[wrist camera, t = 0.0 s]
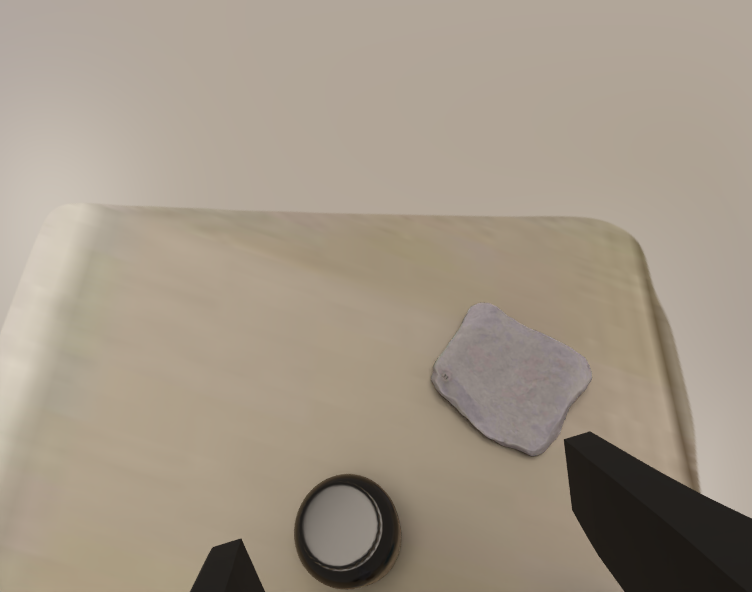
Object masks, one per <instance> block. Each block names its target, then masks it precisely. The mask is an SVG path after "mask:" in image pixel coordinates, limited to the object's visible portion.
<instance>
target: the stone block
mask: <svg viewBox="0 0 752 592" xmlns="http://www.w3.org/2000/svg"><path fill="white" fill-rule="evenodd" d="M431 379H432V382H433V384H434V386H435V388H436V389H437V391H438V392H439V393H440V394H441V395H442V396H443V397H444V398H446V399H447V400H448V401H449V402H450V403H451V404H452V405H453V406H455V407H456V408H457V409H458V411H459V412H460V413H461V414H462V415H463V416H465V417H466V418H467V419H468V420H469V421H470V422H471V423H472V424H473V426H474V427H476V428H477V429H478V430H479V431H480V432H482V433H483V434H484V435H485V436H486V437H488V438H489V439H492V440H494V441H495V442H497V443H499V444H500V445H502V446H506V447H510V448H514V449H517V450H519V451H522V452H524V453H526V454H528V455H530V456H537V455H540V454H542V453H543V452H544V451H545V450H546V449H547V448H548V447H549V446H550V444H551V443H552V442H553V441H554V440H556V438H557V436H558V435H559V434H560V431H561V428H562V425H563V422H564V420H565V419H566V415H567V412H568V410H569V407H570V406H571V405H572V404H573V403H574V401H575V400H576V399H577V397H579V396H580V395H581V393H582V392H583V391H585V390H586V388H587V386H588V384H589V383H590V382H591V380H592V371H591V370H590V366H589V364H588V362H587V360H586V358H585V357H583V356H582V355H581V354H579V353H577V352H576V351H575V350H574V349H572V348H571V347H569V346H567V345H565V344H564V343H561V342H559V341H557V340H556V339H554V338H552V337H550V336H548V335H545V334H543V333H541V332H538V331H536V330H533V329H531V328H528V327H526V326H524V325H522V324H520V323H519V322H517V321H516V320H515V319H513V318H511V317H509V316H507V315H506V314H505V313H504V312H503V311H502V310H500V309H499V308H498V307H496V306H495V305H492V304H490V303H478V304H475V305H473V306H471V307H470V308H469V310H468V313H467V314H466V316H465V318H464V320H463V322H462V325H461V327H460V328H459V330H458V331H457V333H456V334H455V335H454V337H453V338H452V340H451V341H450V342H449V344H448V345H447V347H446V348H445V350H444V351H443V352H442V354H441V355H440V356H439V357H438V359H437V360H436V362H435V364H434V366H433V374H432V376H431Z"/></svg>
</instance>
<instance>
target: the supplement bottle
mask: <svg viewBox="0 0 752 592" xmlns="http://www.w3.org/2000/svg"><path fill="white" fill-rule="evenodd" d="M294 539H295V546H296V550H297V553H298V556H299V558H300V560H301V562H302V564H303V566H304V567H305V569H306V570H307V571H308V572H309V573H310V574H311V575H312V576H313V577H314V578H315V579H316V580H318V581H319V582H321V583H323V584H325V585H327V586H330V587H333V588H337V589H354V588H359V587H364V586H367V585H370V584H373V583H375V582H377V581H378V580H380V579H381V578H383V577H384V576H385V575H386V574H387V573H388V572H389V571H390V569H391V568H392V567H393V565H394V564H395V562H396V560H397V557H398V555H399V551H400V547H401V527H400V523H399V519H398V515H397V512H396V509H395V506H394V504H393V502H392V500H391V499H390V497H389V496H388V494H387V493H386V492H385V491H384V490H383V489H382V488H381V487H380V486H379V485H378V484H376V483H375V482H374V481H372V480H370V479H368V478H366V477H363V476H360V475H354V474H342V475H336V476H333V477H330V478H328V479H326V480H324V481H322V482H321V483H319V484H318V485H317V486H315V487H314V488H313V489H312V490H311V491H310V492H309V493H308V495H307V496H306V497H305V499H304V500H303V502H302V504H301V506H300V508H299V511H298V513H297V517H296V521H295V528H294Z"/></svg>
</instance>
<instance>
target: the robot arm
mask: <svg viewBox="0 0 752 592" xmlns="http://www.w3.org/2000/svg"><path fill="white" fill-rule="evenodd" d="M564 445H565V453H566V462H567V470H568V479H569V487H570V495H571V504H572V511H573V512H574V514H575V516H576V518H577V519H578V521H579V523H580V525H581V527H582V528H583V530H584V532H585V534H586V535H587V537H588V539H589V541H590V542H591V544H592V546H593V547H594V549H595V551H596V552H597V554H598V556H599V557H600V558H601V560H602V561H603V563H604V564H605V565H606V567H607V568H608V569H609V571H610V572H611V574H612V575H613V576H614V578H615V579H616V580H617V582H618V583H619V585H620V586H621V587H622V589H623V590H624V591H625V592H752V518H749V517H747V516H745V515H743V514H741V513H739V512H737V511H735V510H733V509H731V508H728V507H726V506H724V505H722V504H720V503H718V502H716V501H714V500H712V499H710V498H708V497H706V496H704V495H702V494H700V493H698V492H696V491H694V490H692V489H691V488H689V487H687V486H685V485H683V484H681V483H679V482H678V481H676V480H674V479H672V478H670V477H668V476H667V475H665V474H663V473H661V472H659V471H658V470H656V469H654V468H652V467H650V466H649V465H647V464H645V463H644V462H642V461H640V460H638V459H637V458H635V457H633V456H631V455H630V454H628V453H626V452H625V451H623V450H621V449H619V448H618V447H616V446H614V445H613V444H611V443H609V442H607V441H606V440H604V439H602V438H601V437H599V436H597V435H595V434H594V433H592V432H587V433H583V434H580V435H577V436H574V437H570V438H567V439H564ZM190 592H265V591H264V588H263V586H262V584H261V582H260V580H259V577H258V575H257V573H256V571H255V568H254V566H253V564H252V562H251V559H250V557H249V555H248V553H247V550H246V548H245V546H244V544H243V541H242V539H238V540H235V541H231V542H228V543H225V544H222V545H218V546H215V547H213V548H212V549H211V551H210V553H209V554H208V556H207V558H206V560H205V562H204V564H203V566H202V568H201V571H200V573H199V575H198V577H197V579H196V581H195V583H194V585H193V587H192V589H191V591H190Z"/></svg>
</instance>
